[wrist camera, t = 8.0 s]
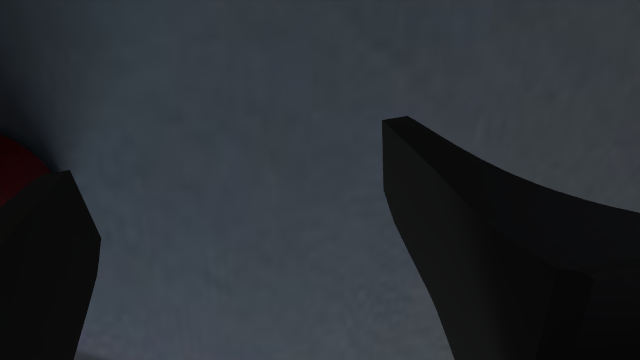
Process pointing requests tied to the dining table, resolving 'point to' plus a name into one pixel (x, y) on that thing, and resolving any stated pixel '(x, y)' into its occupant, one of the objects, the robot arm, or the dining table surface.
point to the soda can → (17, 168)
